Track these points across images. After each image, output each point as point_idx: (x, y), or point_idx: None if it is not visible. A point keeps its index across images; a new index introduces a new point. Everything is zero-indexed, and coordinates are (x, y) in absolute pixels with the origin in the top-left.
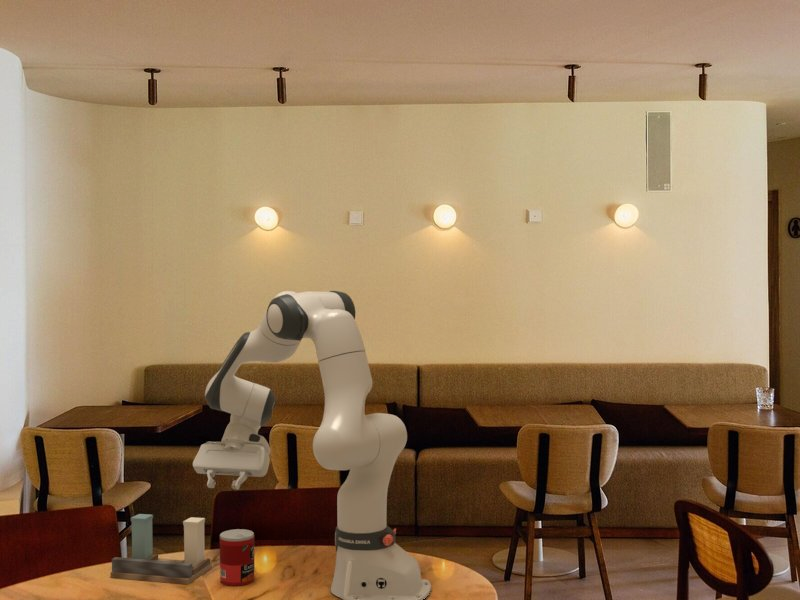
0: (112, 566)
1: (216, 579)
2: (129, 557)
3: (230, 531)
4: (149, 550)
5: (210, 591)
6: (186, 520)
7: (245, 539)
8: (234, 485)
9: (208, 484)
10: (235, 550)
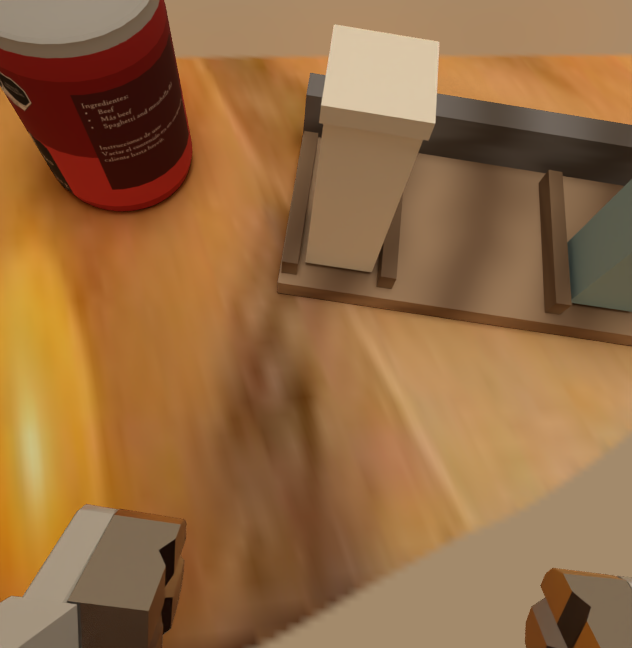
0: None
1: (214, 170)
2: None
3: (106, 19)
4: (592, 254)
5: (203, 71)
6: (428, 60)
7: None
8: (125, 511)
9: (622, 580)
10: None
